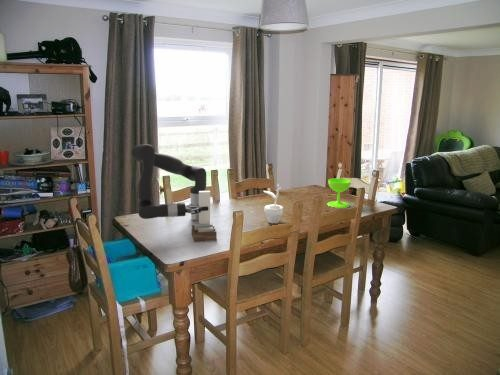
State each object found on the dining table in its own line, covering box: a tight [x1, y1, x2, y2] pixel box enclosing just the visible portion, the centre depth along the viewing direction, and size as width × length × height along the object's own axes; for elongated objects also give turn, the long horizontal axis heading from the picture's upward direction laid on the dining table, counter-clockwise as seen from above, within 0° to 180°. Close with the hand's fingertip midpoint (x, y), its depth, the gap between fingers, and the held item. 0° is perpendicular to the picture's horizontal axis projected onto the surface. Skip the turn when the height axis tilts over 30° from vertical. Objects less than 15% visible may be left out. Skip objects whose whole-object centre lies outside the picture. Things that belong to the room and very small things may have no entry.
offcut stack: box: [193, 223, 214, 232], centre depth 212 cm, size 7×10×5 cm, turn 104°
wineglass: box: [326, 177, 352, 209], centre depth 276 cm, size 16×16×18 cm
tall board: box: [198, 190, 211, 225], centre depth 216 cm, size 2×6×22 cm, turn 104°
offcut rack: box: [191, 224, 217, 243], centre depth 215 cm, size 14×12×5 cm
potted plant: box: [263, 182, 284, 224], centre depth 238 cm, size 13×12×25 cm
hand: (207, 207), depth 216 cm, fingers closed on tall board, 2 cm apart
